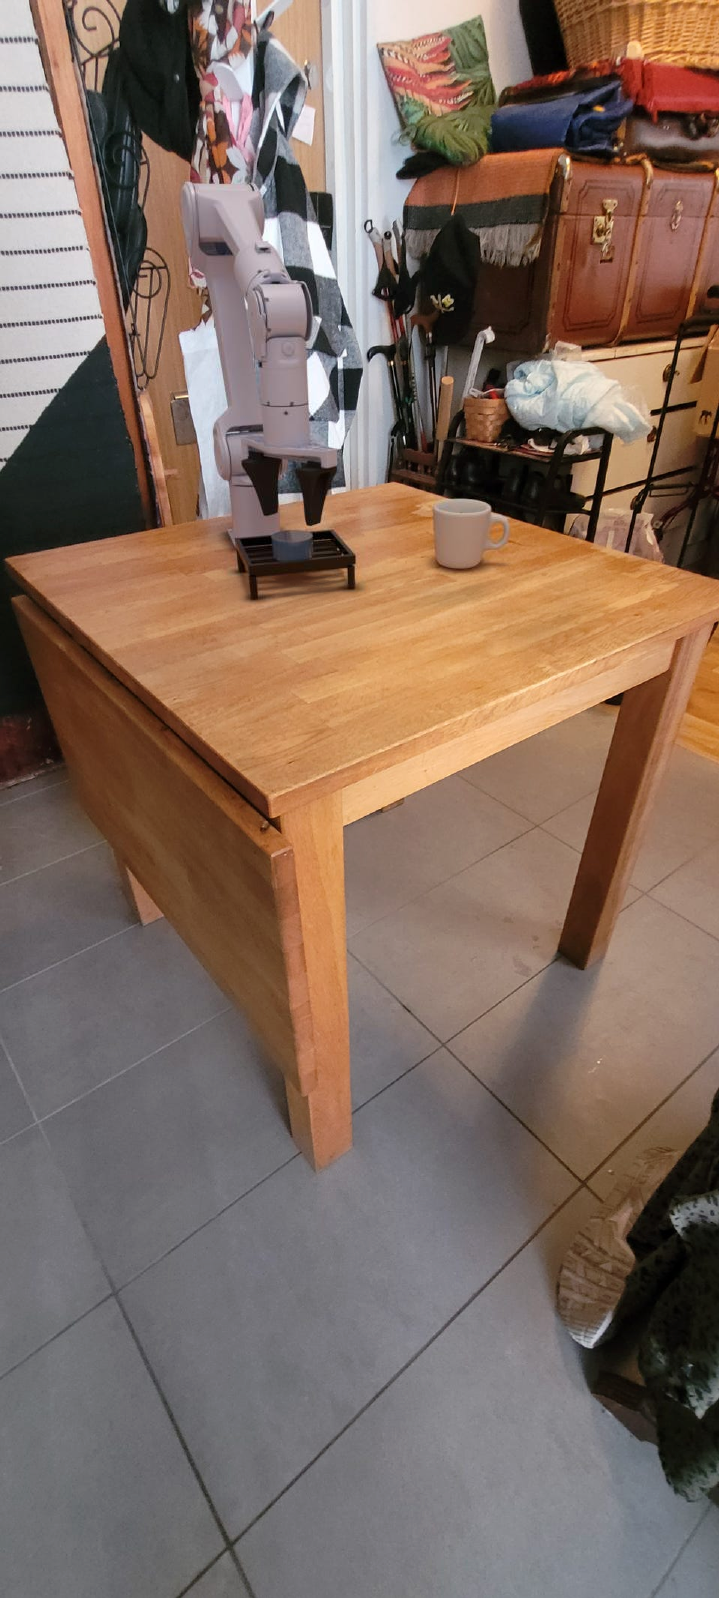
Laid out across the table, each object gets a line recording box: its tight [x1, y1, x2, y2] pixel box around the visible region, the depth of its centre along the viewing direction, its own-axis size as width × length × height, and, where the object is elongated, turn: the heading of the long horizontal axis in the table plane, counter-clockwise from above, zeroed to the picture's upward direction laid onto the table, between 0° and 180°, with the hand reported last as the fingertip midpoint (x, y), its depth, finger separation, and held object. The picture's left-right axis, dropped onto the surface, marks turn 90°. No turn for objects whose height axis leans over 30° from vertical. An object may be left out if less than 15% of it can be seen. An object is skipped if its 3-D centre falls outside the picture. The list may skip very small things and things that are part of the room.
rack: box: [234, 529, 357, 601], centre depth 104 cm, size 12×14×4 cm
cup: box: [432, 498, 511, 570], centre depth 107 cm, size 11×8×8 cm
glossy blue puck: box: [271, 529, 314, 561], centre depth 102 cm, size 6×6×3 cm
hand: (291, 519), depth 100 cm, fingers open, 7 cm apart
